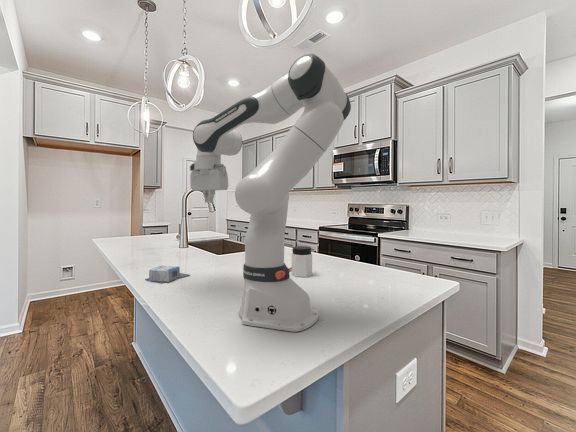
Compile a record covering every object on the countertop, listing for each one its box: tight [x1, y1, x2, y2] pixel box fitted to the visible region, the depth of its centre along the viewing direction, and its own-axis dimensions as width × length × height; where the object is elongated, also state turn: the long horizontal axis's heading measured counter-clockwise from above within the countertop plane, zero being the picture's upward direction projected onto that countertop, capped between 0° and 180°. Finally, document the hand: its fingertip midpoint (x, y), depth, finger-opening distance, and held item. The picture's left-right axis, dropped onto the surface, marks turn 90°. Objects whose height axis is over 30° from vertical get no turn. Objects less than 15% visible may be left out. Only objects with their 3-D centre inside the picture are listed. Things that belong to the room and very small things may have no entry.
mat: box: [145, 272, 191, 284], centre depth 122 cm, size 10×14×1 cm
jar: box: [291, 245, 313, 278], centre depth 129 cm, size 9×8×12 cm
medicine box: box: [148, 265, 181, 283], centre depth 119 cm, size 8×4×9 cm
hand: (208, 202), depth 112 cm, fingers closed
